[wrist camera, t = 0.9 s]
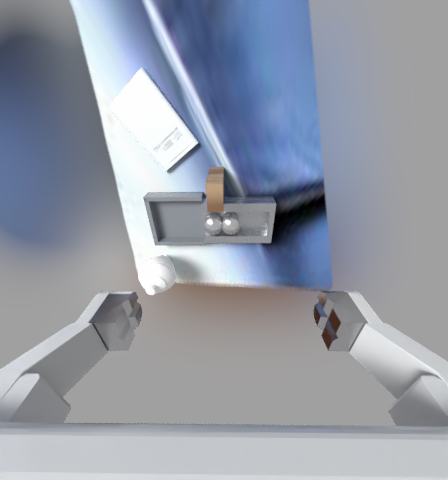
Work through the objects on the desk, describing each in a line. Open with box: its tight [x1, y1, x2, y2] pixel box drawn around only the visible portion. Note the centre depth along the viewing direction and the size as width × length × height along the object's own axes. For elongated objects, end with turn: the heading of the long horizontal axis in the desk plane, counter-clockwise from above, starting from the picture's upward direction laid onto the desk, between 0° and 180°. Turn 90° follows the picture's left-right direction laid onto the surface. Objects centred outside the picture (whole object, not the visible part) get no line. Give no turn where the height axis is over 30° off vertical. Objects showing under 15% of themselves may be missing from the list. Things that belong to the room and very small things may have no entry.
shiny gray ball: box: [204, 213, 222, 235], centre depth 40 cm, size 3×3×3 cm
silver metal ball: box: [222, 213, 240, 235], centre depth 40 cm, size 3×3×3 cm
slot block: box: [201, 196, 276, 243], centre depth 41 cm, size 9×14×4 cm, turn 91°
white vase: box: [138, 254, 176, 295], centre depth 43 cm, size 8×8×12 cm
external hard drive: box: [108, 68, 199, 172], centre depth 33 cm, size 2×8×12 cm
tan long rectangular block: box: [206, 167, 224, 212], centre depth 34 cm, size 4×2×10 cm, turn 1°
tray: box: [143, 192, 206, 245], centre depth 42 cm, size 11×11×3 cm
